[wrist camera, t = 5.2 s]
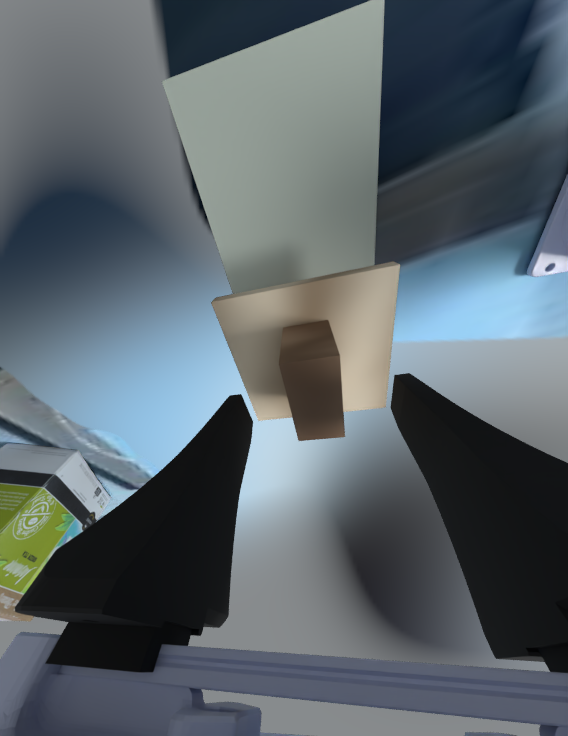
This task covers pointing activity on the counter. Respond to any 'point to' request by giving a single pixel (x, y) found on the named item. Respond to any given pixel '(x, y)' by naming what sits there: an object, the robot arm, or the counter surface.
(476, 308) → the counter surface
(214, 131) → the mat
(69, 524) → the tea box
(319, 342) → the lid
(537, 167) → the counter surface
